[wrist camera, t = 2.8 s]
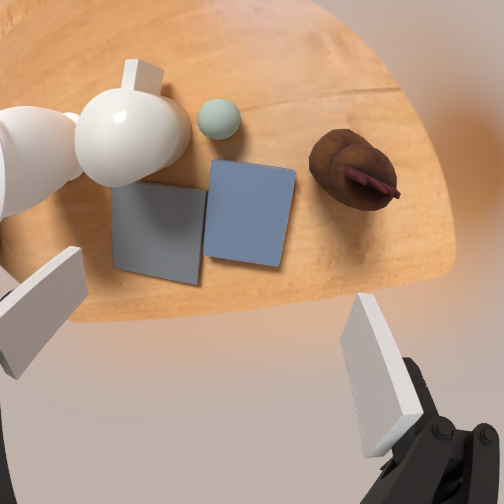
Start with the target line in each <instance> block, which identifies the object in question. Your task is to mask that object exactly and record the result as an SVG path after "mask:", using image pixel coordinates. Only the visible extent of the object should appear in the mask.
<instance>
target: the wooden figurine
mask: <svg viewBox="0 0 504 504" xmlns="http://www.w3.org/2000/svg"><path fill="white" fill-rule="evenodd" d="M309 170H310V172H311V173H312V175H313V177H314V178H315V180H316V181H317V183H318V184H319V185H320V186H321V187H322V188H323V189H324V190H325V191H326V192H327V193H328V194H330V195H331V196H332V197H333V198H334V199H336V200H337V201H339V202H341V203H343V204H345V205H347V206H348V207H353V208H356V209H359V210H362V211H376V210H378V209H381V208H384V207H386V206H387V205H388V203H389V202H390V201H391V200H392V199H393V197H394V198H396V199H399V197H400V195H401V194H400V192H399V191H398V190H397V189H396V188H397V177H396V173H395V170H394V167H393V165H392V164H391V162H390V160H389V159H388V157H387V156H386V155H384V154H383V153H382V152H381V151H379V150H378V149H376V148H374V147H373V146H372V145H371V144H370V143H368V142H367V141H366V140H365V139H364V138H363V137H361V136H359V135H358V134H356V133H354V132H353V131H351V130H349V129H337V130H332V131H330V132H329V133H327V134H326V135H324V136H323V137H322V138H321V139H320V140H319V141H318V142H317V143H316V144H315V145H314V147H313V149H312V152H311V154H310V156H309Z"/></svg>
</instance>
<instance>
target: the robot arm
mask: <svg viewBox="0 0 504 504" xmlns="http://www.w3.org/2000/svg"><path fill="white" fill-rule="evenodd" d="M87 296H88V290H87V284H86V278H85V271H84V264H83V257H82V249H81V248H79V247H74V246H69V247H68V248H66V249H65V250H64V251H62V252H61V253H60V254H58V255H57V256H56V257H54V258H53V259H52V260H50V261H49V262H48V263H46V264H45V265H44V266H43V267H41V268H40V269H39V270H38V271H36V272H35V273H34V274H33V275H31V276H30V277H29V278H28V279H26V280H25V281H24V282H23V283H22V284H20V285H19V286H18V287H17V288H16V289H14V290H12V291H10V292H8V293H7V294H6V295H5V296H3V298H1V300H0V364H1V366H2V367H3V369H4V371H5V373H6V374H7V375H9V376H11V377H12V378H14V379H16V380H18V379H19V377H20V376H21V375H22V373H23V372H24V371H25V369H26V368H27V367H28V365H29V364H30V363H31V361H32V360H33V359H34V358H35V357H36V355H37V354H38V353H39V352H40V350H41V349H42V348H43V347H44V346H45V344H46V343H47V342H48V341H49V339H50V338H51V337H52V336H53V335H54V333H55V332H56V331H57V330H58V329H59V327H60V326H61V325H62V324H63V323H64V322H65V321H66V320H67V318H68V317H69V316H70V315H71V314H72V313H73V312H74V310H75V309H76V308H77V307H78V306H79V305H80V304H81V303H82V302H83V300H84V299H85V298H86V297H87ZM340 341H341V346H342V350H343V354H344V358H345V362H346V367H347V371H348V375H349V380H350V385H351V390H352V394H353V399H354V404H355V409H356V413H357V419H358V424H359V430H360V434H361V440H362V446H363V452H364V458H370V457H381V456H384V455H385V454H386V453H387V452H388V451H389V450H390V449H391V448H392V453H393V457H392V458H391V459H390V460H389V461H388V462H387V463H386V464H385V465H383V466H382V467H381V468H380V470H383V469H384V470H383V471H382V473H381V474H380V476H379V477H378V479H377V480H376V482H375V483H374V485H373V486H372V487H371V489H370V490H369V492H368V493H367V494H366V496H365V497H364V498H363V500H362V501H361V503H360V504H497V500H498V488H499V466H500V465H499V463H500V460H499V459H500V454H499V453H500V452H499V436H498V433H497V432H496V430H495V429H494V428H493V427H492V426H491V425H489V424H487V423H481V424H479V425H477V426H476V427H475V428H474V430H472V431H464V430H457V429H456V428H455V426H454V425H453V423H452V422H451V421H450V420H448V419H447V418H445V417H442V416H439V414H438V412H437V409H436V407H435V404H434V402H433V399H432V397H431V395H430V392H429V390H428V387H426V383H425V380H424V379H423V376H422V374H421V371H420V369H419V367H418V366H417V365H416V363H415V362H414V361H413V360H412V359H411V358H402V357H401V355H400V352H399V350H398V348H397V345H396V343H395V341H394V339H393V336H392V334H391V332H390V330H389V328H388V325H387V323H386V321H385V319H384V317H383V315H382V313H381V311H380V309H379V306H378V304H377V302H376V300H375V298H374V296H373V294H366V293H358V292H357V295H356V298H355V301H354V304H353V306H352V309H351V312H350V314H349V317H348V320H347V322H346V325H345V328H344V330H343V333H342V335H341V338H340ZM0 504H17V502H16V498H15V496H14V491H13V487H12V483H11V479H10V474H9V469H8V464H7V459H6V453H5V446H4V439H3V431H2V422H1V409H0Z"/></svg>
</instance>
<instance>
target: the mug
mask: <svg viewBox="0 0 504 504" xmlns="http://www.w3.org/2000/svg"><path fill="white" fill-rule="evenodd" d="M163 73H164V69H161V68H159V67H157V66H154V65H152V64H150V63H147V62H145V61H142V60H140V59H129V60H126V61H125V67H124V73H123V79H122V85H121V88H117V89H111V90H107V91H105V92H103V93H101V94H99V95H97V96H96V97H95V98H93V99H92V100H91V101H90V102H89V103H88V104H87V106H86V107H85V108H84V110H83V111H82V113H81V115H80V117H79V119H78V122H77V125H76V129H75V136H74V145H75V152H76V156H77V159H78V162H79V164H80V166H81V168H82V169H83V171H84V172H85V173H86V174H87V175H88V176H89V177H90V178H91V179H92V180H93V181H95V182H97V183H98V184H100V185H103V186H107V187H122V186H125V185H128V184H130V183H133V182H135V181H137V180H139V179H141V178H143V177H145V176H148V175H150V174H152V173H154V172H156V171H159V170H161V169H163V168H166V167H168V166H170V165H172V164H174V163H175V162H176V161H178V160H179V159H180V158H181V157H182V155H183V154H184V153H185V151H186V150H187V147H188V145H189V142H190V139H191V122H190V119H189V116H188V114H187V112H186V110H185V109H184V108H183V106H182V105H181V104H179V103H178V102H177V101H175V100H174V99H171V98H169V97H165V96H160V92H161V85H162V79H163Z"/></svg>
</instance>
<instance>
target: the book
mask: <svg viewBox="0 0 504 504" xmlns="http://www.w3.org/2000/svg"><path fill="white" fill-rule="evenodd" d="M295 178H296V172H295V171H294V170H292V169H286V168H280V167H274V166H267V165H261V164H254V163H247V162H240V161H232V160H224V159H214V160H212V162H211V171H210V181H209V191H208V201H207V212H206V223H205V235H204V248H203V255H204V256H210V257H216V258H223V259H229V260H236V261H243V262H249V263H256V264H262V265H269V266H276V267H278V265H279V263H280V258H281V253H282V248H283V243H284V238H285V233H286V227H287V222H288V217H289V211H290V206H291V200H292V195H293V189H294V184H295Z"/></svg>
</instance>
